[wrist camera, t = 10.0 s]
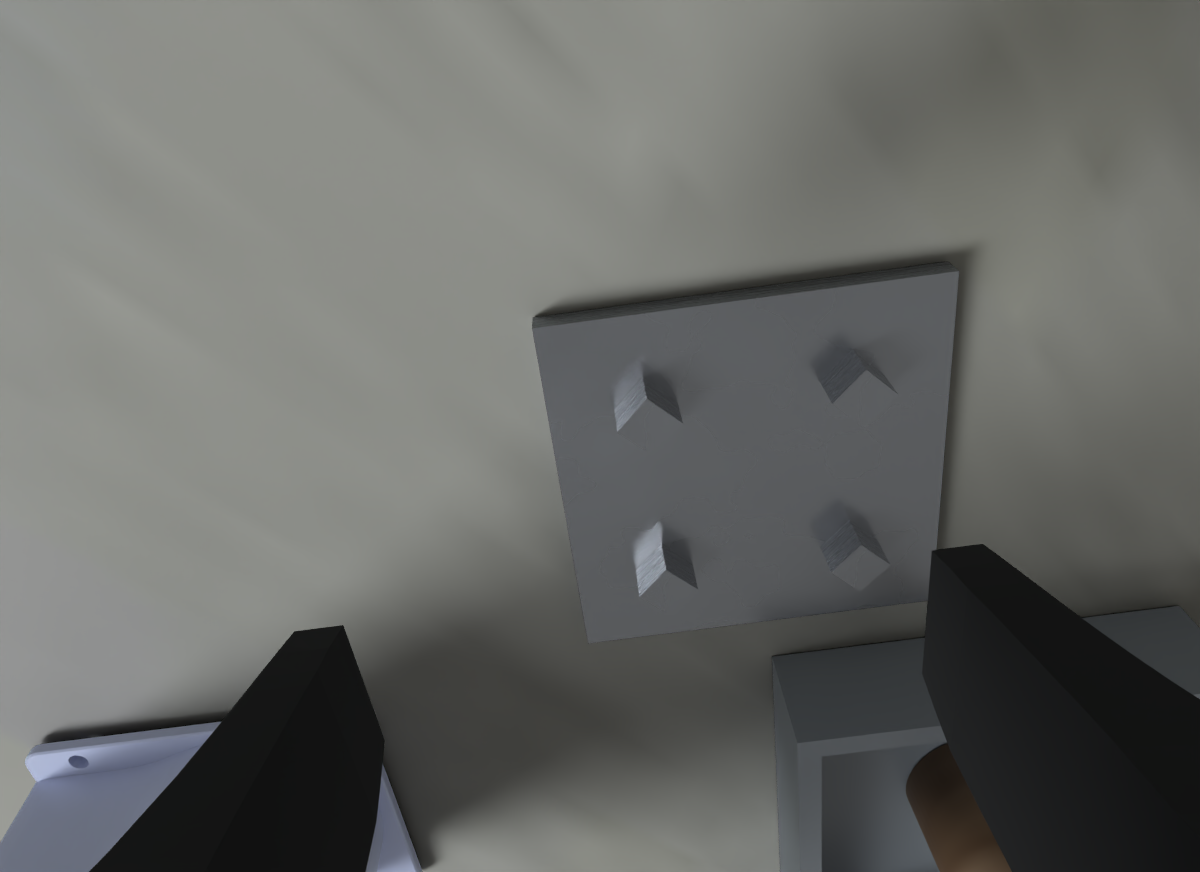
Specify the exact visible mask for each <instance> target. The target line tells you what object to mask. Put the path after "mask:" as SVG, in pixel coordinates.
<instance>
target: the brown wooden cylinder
mask: <svg viewBox="0 0 1200 872" xmlns="http://www.w3.org/2000/svg"><path fill="white" fill-rule="evenodd" d="M906 795H907V798H908V801H909V803H910V805H911V808H912V810H913V812H914V814H915V817H916V819H917V821H918V824H919V826H920V828H921V830H922V833H923V835H924V837H925V839H926V842H927V844H928V846H929V849H930V851H931V853H932V855H933V858H934V860H935V862H936V864H937V867H938V869H939V871H940V872H1012V871H1011V869H1010V867H1009V865H1008V863H1007V861H1006V859H1005V857H1004V855H1003V853H1002V851H1001V849H1000V848H999V846H998V844H997V842H996V840H995V838H994V836H993V834H992V832H991V830H990V828H989V826H988V824H987V822H986V820H985V818H984V817H983V815H982V813H981V811H980V809H979V807H978V805H977V803H976V801H975V799H974V797H973V795H972V793H971V791H970V789H969V787H968V785H967V783H966V781H965V779H964V777H963V775H962V773H961V771H960V769H959V767H958V765H957V763H956V761H955V759H954V757H953V755H952V753H951V751H950V749H949V746H948V743H947V744H945V745H943V746H941V747H939V748H937V749H935V750H933V751H932V752H930V753H929V754H927V755H926V756H925V757H924V758H923V759H921V760H920V761H919V762H918V763H917V765H916V766H915V767H914V768H913V770H912V771H911V773H910V775H909V777H908V780H907V784H906Z"/></svg>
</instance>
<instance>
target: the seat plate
mask: <svg viewBox="0 0 1200 872" xmlns="http://www.w3.org/2000/svg"><path fill="white" fill-rule="evenodd" d="M958 279H959V270H957V269H956V268H955V267H954V266H953V265H952V264H951V263H949V262H940V263H933V264H925V265H918V266H911V267H903V268H896V269H888V270H881V271H874V272H866V273H859V274H851V275H844V276H837V277H829V278H822V279H814V280H807V281H799V282H792V283H785V284H777V285H770V286H762V287H755V288H748V289H740V290H733V291H725V292H718V293H711V294H703V295H696V296H688V297H681V298H674V299H666V300H659V301H651V302H644V303H636V304H629V305H622V306H614V307H607V308H599V309H592V310H585V311H577V312H570V313H562V314H555V315H548V316H540V317H533V322H532V330H533V336H534V342H535V347H536V353H537V358H538V364H539V370H540V375H541V381H542V386H543V392H544V398H545V403H546V409H547V415H548V420H549V426H550V431H551V437H552V443H553V448H554V454H555V460H556V465H557V471H558V476H559V482H560V488H561V493H562V499H563V505H564V510H565V516H566V521H567V527H568V533H569V538H570V544H571V549H572V555H573V561H574V566H575V572H576V578H577V583H578V589H579V594H580V600H581V606H582V611H583V617H584V623H585V628H586V634H587V639H588V643H595V642H603V641H611V640H619V639H627V638H635V637H643V636H651V635H659V634H666V633H674V632H682V631H690V630H698V629H706V628H714V627H722V626H730V625H738V624H746V623H754V622H762V621H770V620H778V619H786V618H794V617H801V616H809V615H817V614H825V613H833V612H841V611H849V610H857V609H865V608H873V607H881V606H889V605H897V604H905V603H913V602H921V601H928V591H929V578H930V566H931V553H932V550H936V549H937V536H938V524H939V512H940V500H941V487H942V475H943V463H944V451H945V438H946V426H947V414H948V402H949V389H950V377H951V365H952V353H953V340H954V328H955V316H956V304H957V291H958Z"/></svg>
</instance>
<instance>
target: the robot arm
mask: <svg viewBox="0 0 1200 872" xmlns="http://www.w3.org/2000/svg"><path fill="white" fill-rule="evenodd" d="M922 675H923V678H924V681H925V683H926V686H927V689H928V692H929V695H930V697H931V700H932V703H933V706H934V709H935V712H936V714H937V717H938V720H939V722H940V725H941V728H942V730H943V733H944V735H945V738H946V741H947V743H948V746H949V749H950V751H951V753H952V755H953V757H954V759H955V761H956V763H957V765H958V767H959V769H960V771H961V773H962V775H963V777H964V779H965V781H966V783H967V785H968V787H969V789H970V791H971V793H972V795H973V797H974V799H975V801H976V803H977V805H978V807H979V809H980V811H981V813H982V815H983V817H984V818H985V820H986V822H987V824H988V826H989V828H990V830H991V832H992V834H993V836H994V838H995V840H996V842H997V844H998V846H999V848H1000V849H1001V851H1002V853H1003V855H1004V857H1005V859H1006V861H1007V863H1008V865H1009V867H1010V869H1011V871H1012V872H1200V699H1199V698H1197V697H1196V696H1194V695H1193V694H1191V693H1189V692H1188V691H1186V690H1185V689H1183V688H1182V687H1180V686H1179V685H1177V684H1175V683H1174V682H1172V681H1171V680H1170V679H1168V678H1167V677H1165V676H1164V675H1162V674H1161V673H1159V672H1158V671H1156V670H1155V669H1153V668H1152V667H1150V666H1149V665H1147V664H1146V663H1144V662H1143V661H1141V660H1140V659H1139V658H1137V657H1136V656H1134V655H1133V654H1131V653H1130V652H1128V651H1127V650H1126V649H1124V648H1123V647H1121V646H1120V645H1119V644H1117V643H1116V642H1114V641H1113V640H1112V639H1110V638H1109V637H1107V636H1106V635H1105V634H1103V633H1102V632H1100V631H1099V630H1098V629H1096V628H1095V627H1093V626H1092V625H1091V624H1089V623H1088V622H1087V621H1085V620H1084V619H1082V618H1081V617H1080V616H1078V615H1077V614H1076V613H1074V612H1073V611H1072V610H1070V609H1069V608H1068V607H1066V606H1065V605H1064V604H1062V603H1061V602H1060V601H1058V600H1057V599H1056V598H1054V597H1053V596H1051V595H1050V594H1049V593H1047V592H1046V591H1045V590H1043V589H1042V588H1041V587H1039V586H1038V585H1037V584H1036V583H1034V582H1033V581H1032V580H1030V579H1029V578H1028V577H1026V576H1025V575H1024V574H1022V573H1021V572H1020V571H1018V570H1017V569H1016V568H1014V567H1013V566H1012V565H1010V564H1009V563H1008V562H1006V561H1005V560H1004V559H1002V558H1001V557H1000V556H998V555H997V554H996V553H994V552H993V551H992V550H990V549H989V548H987V547H986V546H985V545H983V544H979V545H971V546H963V547H955V548H947V549H939V550H932V553H931V566H930V578H929V591H928V604H927V617H926V630H925V642H924V655H923V668H922ZM383 751H384V738H383V735H382V732H381V729H380V726H379V724H378V721H377V718H376V715H375V713H374V710H373V707H372V704H371V701H370V699H369V696H368V693H367V690H366V688H365V685H364V682H363V679H362V676H361V674H360V671H359V668H358V665H357V663H356V660H355V657H354V654H353V651H352V649H351V646H350V643H349V640H348V638H347V635H346V632H345V629H344V626H343V625H342V626H334V627H326V628H318V629H311V630H303V631H295V632H294V633H293V634H292V635H291V636H290V638H289V639H288V640H287V641H286V642H285V644H284V645H283V646H282V647H281V648H280V650H279V651H278V652H277V653H276V655H275V656H274V657H273V658H272V660H271V661H270V662H269V663H268V664H267V666H266V667H265V668H264V669H263V671H262V672H261V673H260V674H259V676H258V677H257V678H256V679H255V681H254V682H253V683H252V684H251V686H250V687H249V688H248V689H247V691H246V692H245V693H244V694H243V696H242V697H241V698H240V699H239V701H238V702H237V703H236V704H235V706H234V707H233V708H232V709H231V711H230V712H229V713H228V714H227V716H226V717H225V718H224V719H223V721H222V722H214V723H206V724H198V725H190V726H182V727H174V728H166V729H158V730H150V731H142V732H134V733H126V734H118V735H110V736H102V737H94V738H86V739H78V740H70V741H62V742H54V743H46V744H40V745H36V746H35V747H33V748H32V749H31V751H30V752H29V754H28V756H27V757H26V760H25V764H26V767H27V768H28V770H29V771H30V773H31V774H32V776H33V777H34V779H35V780H36V782H37V783H35V785H34V787H33V788H32V790H31V792H30V794H29V795H28V797H27V799H26V800H25V802H24V804H23V805H22V807H21V809H20V810H19V812H18V814H17V815H16V817H15V819H14V820H13V822H12V824H11V825H10V827H9V829H8V830H7V832H6V834H5V836H4V837H3V839H2V841H1V842H0V872H422V869H421V866H420V863H419V861H418V858H417V855H416V852H415V850H414V847H413V844H412V842H411V839H410V836H409V833H408V831H407V828H406V825H405V823H404V820H403V817H402V814H401V812H400V809H399V806H398V804H397V801H396V798H395V795H394V793H393V790H392V787H391V785H390V782H389V779H388V776H387V774H386V771H385V768H384V766H383Z"/></svg>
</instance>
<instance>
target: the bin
mask: <svg viewBox="0 0 1200 872" xmlns="http://www.w3.org/2000/svg"><path fill="white" fill-rule="evenodd" d="M1082 619H1084V620H1085V621H1087V622H1088V623H1089V624H1091V625H1092V626H1093V627H1095V628H1096V629H1098V630H1099V631H1100V632H1102V633H1103V634H1105V635H1106V636H1107V637H1109V638H1110V639H1112V640H1113V641H1114V642H1116V643H1117V644H1119V645H1120V646H1121V647H1123V648H1124V649H1126V650H1127V651H1128V652H1130V653H1131V654H1133V655H1134V656H1136V657H1137V658H1139V659H1140V660H1141V661H1143V662H1144V663H1146V664H1147V665H1149V666H1150V667H1152V668H1153V669H1155V670H1156V671H1158V672H1159V673H1161V674H1162V675H1164V676H1165V677H1167V678H1168V679H1170V680H1171V681H1172V682H1174V683H1175V684H1177V685H1179V686H1180V687H1182V688H1183V689H1185V690H1186V691H1188V692H1189V693H1191V694H1193V695H1194V696H1196V697H1197V698H1199V699H1200V628H1199V627H1198V626H1197V625H1196V624H1195V622H1194V621H1193V620H1192V619H1191V618H1190V617H1189V616H1188V615H1187V614H1186V613H1185V611H1184V610H1183V609H1182V608H1181V607H1180V606H1174V607H1166V608H1158V609H1150V610H1142V611H1134V612H1126V613H1118V614H1110V615H1102V616H1094V617H1086V618H1082ZM924 642H925V638H918V639H910V640H902V641H894V642H886V643H878V644H870V645H862V646H854V647H846V648H838V649H830V650H822V651H814V652H806V653H798V654H790V655H782V656H774V657H772V671H773V698H774V724H775V750H776V776H777V802H778V828H779V854H780V872H940V871H939V869H938V867H937V864H936V862H935V860H934V858H933V855H932V853H931V851H930V849H929V846H928V844H927V842H926V839H925V837H924V835H923V833H922V830H921V828H920V826H919V824H918V821H917V819H916V817H915V814H914V812H913V810H912V808H911V805H910V803H909V801H908V798H907V795H906V784H907V780H908V777H909V775H910V773H911V771H912V770H913V768H914V767H915V766H916V765H917V763H918V762H919V761H920V760H921V759H923V758H924V757H925V756H926V755H927V754H929V753H930V752H932V751H933V750H935V749H937V748H939V747H941V746H943V745H945V744H947V741H946V738H945V735H944V733H943V730H942V728H941V725H940V722H939V720H938V717H937V714H936V712H935V709H934V706H933V703H932V700H931V697H930V695H929V692H928V689H927V686H926V683H925V681H924V678H923V675H922V668H923V655H924Z"/></svg>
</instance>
